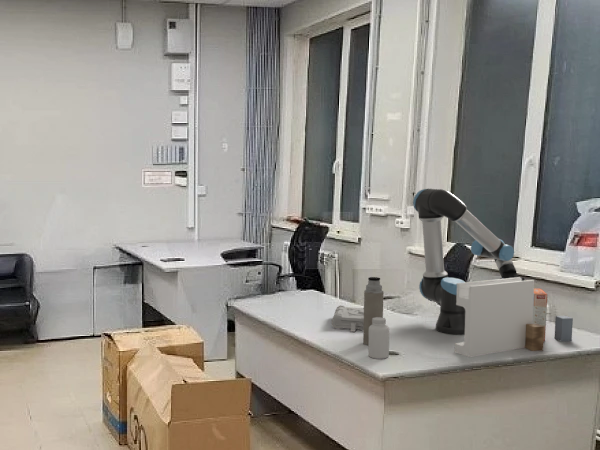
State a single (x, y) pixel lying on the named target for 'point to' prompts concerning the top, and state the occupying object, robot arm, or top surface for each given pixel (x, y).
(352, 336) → the top surface
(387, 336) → the pill bottle
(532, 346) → the walnut block
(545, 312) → the cracker box
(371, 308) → the thermos bottle
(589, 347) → the top surface
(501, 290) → the block
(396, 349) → the top surface
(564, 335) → the slate block
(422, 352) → the top surface
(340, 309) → the gray tool case
